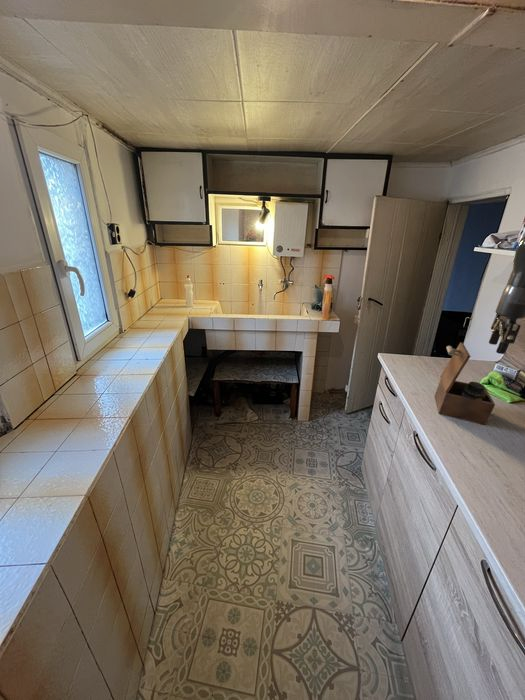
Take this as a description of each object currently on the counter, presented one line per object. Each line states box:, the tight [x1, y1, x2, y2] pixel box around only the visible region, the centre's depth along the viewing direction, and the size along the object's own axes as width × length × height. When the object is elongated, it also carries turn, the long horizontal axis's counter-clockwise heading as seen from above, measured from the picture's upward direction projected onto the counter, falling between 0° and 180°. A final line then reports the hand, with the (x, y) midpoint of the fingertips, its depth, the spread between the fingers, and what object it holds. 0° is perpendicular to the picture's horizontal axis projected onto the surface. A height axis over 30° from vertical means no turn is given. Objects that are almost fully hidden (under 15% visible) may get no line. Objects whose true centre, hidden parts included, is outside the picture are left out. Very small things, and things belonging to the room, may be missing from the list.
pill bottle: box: [462, 381, 486, 401], centre depth 103 cm, size 6×6×11 cm
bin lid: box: [440, 341, 471, 393], centre depth 102 cm, size 15×13×5 cm
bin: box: [434, 378, 496, 426], centre depth 105 cm, size 15×13×9 cm
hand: (496, 348), depth 93 cm, fingers open, 8 cm apart
